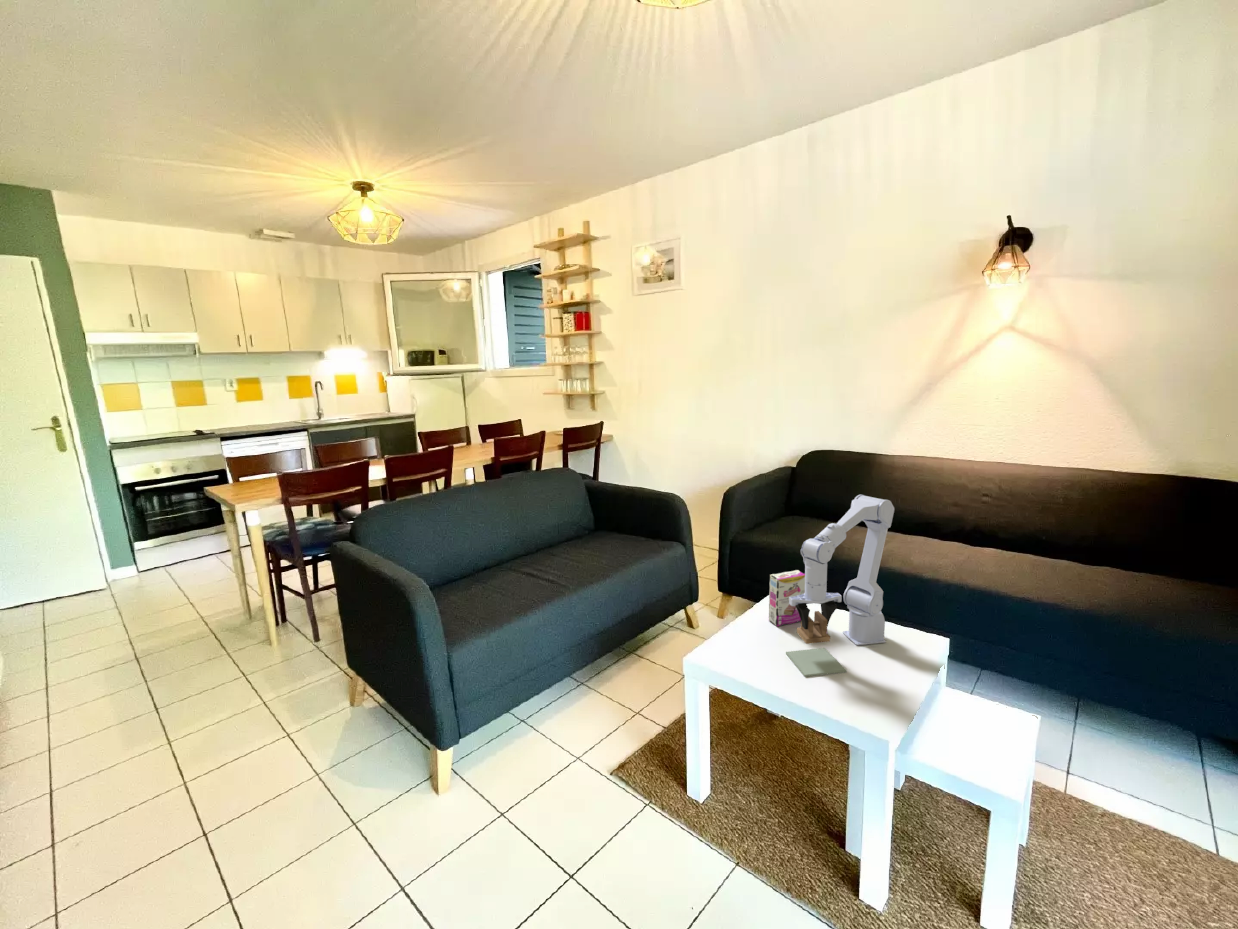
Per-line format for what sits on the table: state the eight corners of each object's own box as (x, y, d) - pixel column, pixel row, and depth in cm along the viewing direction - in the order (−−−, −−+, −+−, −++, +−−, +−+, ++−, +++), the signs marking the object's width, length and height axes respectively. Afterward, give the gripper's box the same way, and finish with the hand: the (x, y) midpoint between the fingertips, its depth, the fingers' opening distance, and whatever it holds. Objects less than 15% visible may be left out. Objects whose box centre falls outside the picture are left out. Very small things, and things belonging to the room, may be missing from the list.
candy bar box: (777, 627, 169) (777, 579, 166) (768, 621, 174) (768, 574, 171) (806, 621, 173) (807, 574, 170) (797, 614, 177) (797, 569, 174)
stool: (819, 630, 153) (820, 610, 152) (830, 641, 147) (831, 620, 146) (796, 632, 152) (797, 612, 151) (806, 643, 147) (807, 623, 145)
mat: (824, 649, 155) (824, 647, 155) (846, 672, 143) (846, 670, 143) (785, 653, 154) (785, 652, 154) (804, 677, 142) (804, 674, 142)
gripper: (833, 574, 151) (831, 618, 153) (784, 578, 149) (784, 622, 152) (846, 583, 144) (844, 629, 146) (795, 588, 143) (794, 634, 145)
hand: (814, 626), depth 149 cm, fingers closed on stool, 5 cm apart
